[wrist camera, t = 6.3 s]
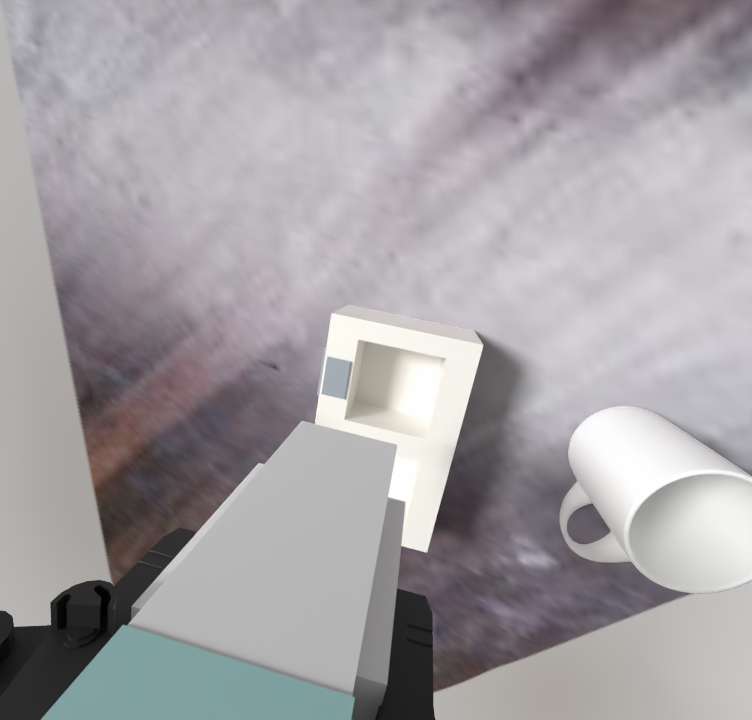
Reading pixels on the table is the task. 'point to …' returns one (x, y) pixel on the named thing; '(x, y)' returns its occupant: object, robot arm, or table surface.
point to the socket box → (401, 399)
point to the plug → (257, 599)
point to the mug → (661, 501)
